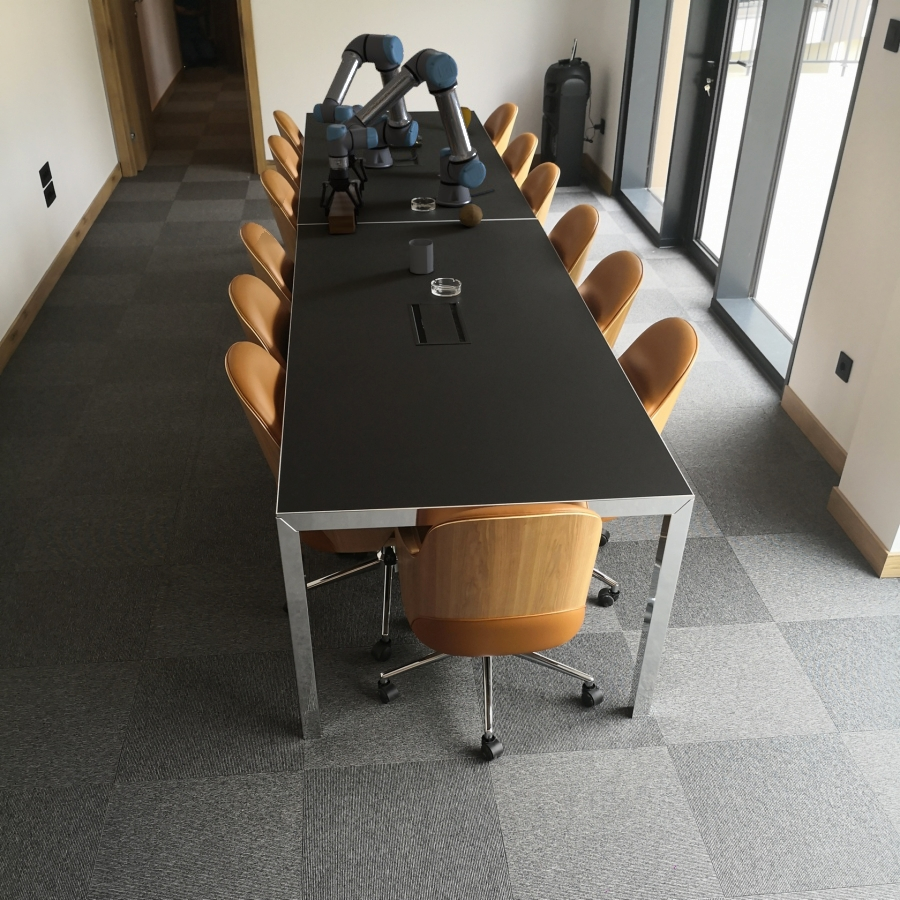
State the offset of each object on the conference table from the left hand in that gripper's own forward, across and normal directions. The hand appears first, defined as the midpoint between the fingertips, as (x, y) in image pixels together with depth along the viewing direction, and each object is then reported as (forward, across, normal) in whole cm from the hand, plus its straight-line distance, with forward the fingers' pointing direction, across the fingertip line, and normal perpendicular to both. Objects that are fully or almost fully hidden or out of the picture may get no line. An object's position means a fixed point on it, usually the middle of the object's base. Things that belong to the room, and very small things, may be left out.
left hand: (349, 198), depth 376 cm
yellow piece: (+3, +54, +133) cm, 144 cm away
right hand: (0, 0, -36) cm, 36 cm away
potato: (+1, +51, -34) cm, 61 cm away
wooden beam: (+1, 0, -18) cm, 18 cm away
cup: (+1, +31, -83) cm, 89 cm away
